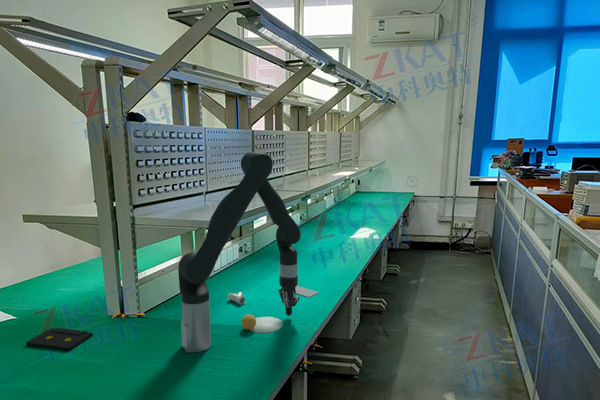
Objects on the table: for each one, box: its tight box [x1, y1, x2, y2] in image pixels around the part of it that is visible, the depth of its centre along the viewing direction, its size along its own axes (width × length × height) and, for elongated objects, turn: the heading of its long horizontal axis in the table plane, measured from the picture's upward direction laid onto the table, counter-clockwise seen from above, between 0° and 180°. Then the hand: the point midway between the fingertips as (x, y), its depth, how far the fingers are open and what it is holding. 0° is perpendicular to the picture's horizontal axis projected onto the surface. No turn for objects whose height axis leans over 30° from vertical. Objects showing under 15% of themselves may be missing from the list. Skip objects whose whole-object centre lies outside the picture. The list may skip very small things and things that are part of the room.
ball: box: [240, 314, 256, 331], centre depth 157 cm, size 6×6×6 cm
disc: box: [250, 316, 284, 334], centre depth 161 cm, size 14×14×1 cm
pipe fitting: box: [227, 291, 246, 306], centre depth 185 cm, size 8×4×7 cm
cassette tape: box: [25, 327, 94, 352], centre depth 148 cm, size 18×12×2 cm, turn 78°
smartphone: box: [295, 285, 320, 298], centre depth 196 cm, size 8×1×15 cm
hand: (288, 314), depth 167 cm, fingers closed
